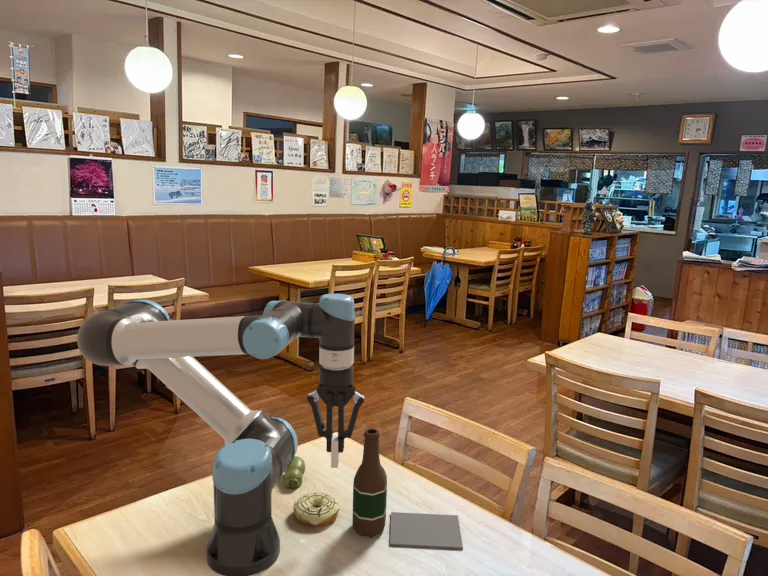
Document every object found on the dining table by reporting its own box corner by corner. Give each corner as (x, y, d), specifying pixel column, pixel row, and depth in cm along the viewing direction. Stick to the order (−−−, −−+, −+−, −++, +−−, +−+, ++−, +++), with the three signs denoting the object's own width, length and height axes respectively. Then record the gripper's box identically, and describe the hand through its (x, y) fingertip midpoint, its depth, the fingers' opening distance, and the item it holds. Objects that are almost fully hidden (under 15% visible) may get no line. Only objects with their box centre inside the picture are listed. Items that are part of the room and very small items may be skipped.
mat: (389, 545, 123) (390, 543, 123) (391, 513, 135) (391, 512, 135) (462, 549, 123) (463, 547, 123) (457, 517, 135) (457, 515, 134)
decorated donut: (318, 535, 126) (318, 520, 126) (284, 518, 132) (284, 503, 132) (347, 514, 135) (347, 499, 134) (314, 498, 141) (314, 484, 140)
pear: (306, 452, 152) (303, 477, 143) (306, 468, 154) (303, 493, 145) (285, 452, 152) (281, 476, 143) (285, 468, 154) (281, 493, 144)
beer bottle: (350, 519, 132) (352, 424, 128) (382, 516, 134) (385, 422, 129) (354, 540, 125) (356, 439, 120) (388, 537, 126) (392, 438, 122)
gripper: (303, 369, 119) (303, 471, 123) (365, 372, 118) (362, 474, 123) (309, 358, 126) (309, 455, 130) (367, 360, 126) (364, 458, 130)
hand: (335, 464), depth 127 cm, fingers closed
